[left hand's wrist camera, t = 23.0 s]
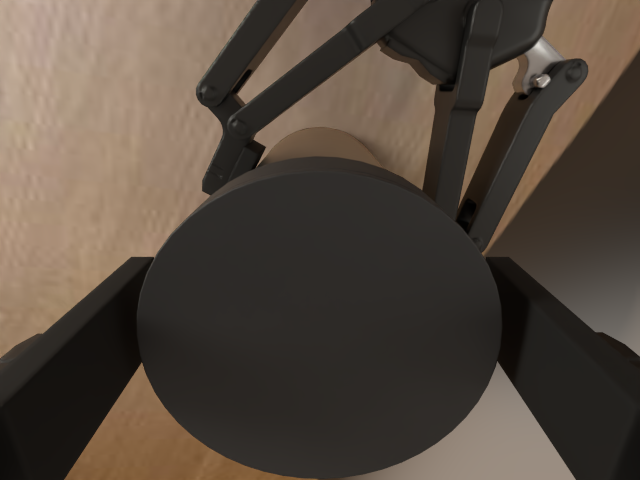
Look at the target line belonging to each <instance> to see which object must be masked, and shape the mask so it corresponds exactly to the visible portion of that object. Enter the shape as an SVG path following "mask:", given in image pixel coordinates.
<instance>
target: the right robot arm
mask: <svg viewBox="0 0 640 480" xmlns="http://www.w3.org/2000/svg"><path fill="white" fill-rule="evenodd" d="M307 1H308V0H257V1H256V3H255V4H254V6H253V7H252V8H251V10H250V11H249V13H248V14H247V16H246V17H245V18H244V20H243V21H242V23H241V24H240V25H239V27H238V28H237V30H236V31H235V32H234V34H233V35H232V37H231V38H230V40H229V41H228V42H227V44H226V45H225V47H224V48H223V49H222V51H221V52H220V54H219V55H218V56H217V58H216V59H215V61H214V62H213V64H212V65H211V66H210V68H209V69H208V71H207V72H206V73H205V75H204V76H203V78H202V79H201V80H200V82H199V83H198V85H197V88H196V96H197V98H198V100H199V102H200V103H201V104H202V105H204V106H206V107H208V108H209V109H210V110H211V111H212V112H213V114H214V115H215V116H216V117H217V118H218V119H219V121H220V122H221V124H222V127H223V136H222V139H221V141H220V143H219V145H218V147H217V150H216V152H215V154H214V156H213V158H212V161H211V163H210V165H209V167H208V170H207V172H206V174H205V176H204V178H203V180H202V191H203V192H205V193H207V194H209V195H212V194H213V193H215V192H216V191H218V190H219V189H220V188H222V187H223V186H224V185H226V184H227V183H228V182H230V181H232V180H234V179H235V178H237V177H239V176H241V175H243V174H245V173H246V172H248V171H251V170H254V169H255V168H256V166H257V164H258V162H259V160H260V158H261V156H262V154H263V152H264V150H265V148H266V147H265V146H263V145H262V144H260V143H258V142H256V141H255V140H253V139H254V137H255V135H256V133H257V132H258V131H260V130H261V129H262V128H264V127H265V126H266V125H268V124H269V123H270V122H272V121H273V120H274V119H275V118H277V117H278V116H279V115H281V114H282V113H283V112H285V111H286V110H287V109H289V108H290V107H291V106H293V105H294V104H295V103H297V102H298V101H299V100H301V99H302V98H303V97H305V96H306V95H307V94H309V93H310V92H311V91H313V90H314V89H315V88H317V87H318V86H319V85H321V84H322V83H323V82H325V81H326V80H327V79H329V78H330V77H331V76H333V75H334V74H335V73H337V72H338V71H339V70H340V69H342V68H343V67H344V66H346V65H347V64H348V63H350V62H351V61H352V60H354V59H355V58H357V57H358V56H359V55H361V54H362V53H363V52H365V51H366V50H367V49H369V48H370V47H371V46H373V45H374V44H375V43H378V45H379V46H380V47H381V50H380V51H381V52H383V53H384V54H386V55H388V56H389V57H391V58H392V59H395V60H398V61H402V62H405V63H408V64H410V65H411V66H412V68H413V69H414V70H415V71H416V72H417V73H418V75H419V76H420V77H422V78H423V79H425V80H426V81H428V82H430V83H431V84H437V85H436V92H435V98H434V105H435V115H434V122H433V128H432V134H431V140H430V147H429V153H428V159H427V165H426V172H425V178H424V184H423V190H422V191H423V192H424V193H425V194H426V195H427V196H429V197H430V198H431V199H432V200H433V201H434V202H435V203H437V204H438V205H439V206H440V207H441V208H442V209H443V210H444V211H445V212H446V213H447V214H448V215H449V216H450V217H451V218H452V219H453V220H454V221H455V222H457V223H458V224H459V225H460V226H461V227H462V228H463V230H464V231H465V232H466V233H467V234H468V236H469V237H470V238H471V239H472V240H473V242H474V243H475V244H476V245H477V247H478V249H479V250H480V252H481V253H482V252H483V251H484V250H485V249H486V247H487V245H488V244H489V242H490V240H491V238H492V236H493V234H494V232H495V230H496V228H497V226H498V224H499V222H500V220H501V218H502V216H503V214H504V212H505V210H506V208H507V206H508V204H509V202H510V200H511V198H512V196H513V194H514V192H515V190H516V188H517V186H518V184H519V182H520V180H521V178H522V176H523V174H524V172H525V170H526V168H527V166H528V164H529V162H530V160H531V158H532V156H533V154H534V152H535V150H536V148H537V146H538V144H539V142H540V140H541V138H542V136H543V134H544V132H545V130H546V128H547V126H548V124H549V122H550V120H551V118H552V116H553V114H554V113H555V112H556V111H557V110H558V109H559V108H560V107H561V106H562V105H563V103H564V102H565V101H566V100H567V99H568V98H569V97H570V96H571V95H572V94H573V93H574V92H575V91H576V89H577V88H578V87H579V86H580V85H581V84H582V83H583V82H584V80H585V79H586V77H587V74H588V65H587V64H586V62H585V61H584V60H582V59H568V60H567V59H565V58H564V57H563V56H562V55H561V54H560V53H559V52H558V51H557V50H556V49H555V48H554V47H553V46H552V45H551V44H550V43H549V42H548V41H547V40H546V39H545V38H544V37H543V36H542V35H543V33H544V30H545V26H546V20H547V16H548V12H549V9H550V6H551V4H552V2H553V0H371V6H370V7H369V8H368V9H366V10H365V11H364V12H362V13H361V14H360V15H359V16H357V17H356V18H355V19H354V20H352V21H351V22H350V23H349V24H348V25H347V26H346V27H345V28H344V29H342V30H341V31H340V32H339V33H337V34H336V35H335V36H333V37H332V38H331V39H330V40H328V41H327V42H326V43H324V44H323V45H322V46H321V47H319V48H318V49H317V50H315V51H314V52H313V53H312V54H310V55H309V56H308V57H306V58H305V59H304V60H303V61H301V62H300V63H299V64H297V65H296V66H295V67H294V68H292V69H291V70H290V71H288V72H287V73H286V74H285V75H283V76H282V77H281V78H279V79H278V80H277V81H276V82H274V83H273V84H272V85H270V86H269V87H268V88H267V89H265V90H264V91H263V92H261V93H260V94H259V95H258V96H256V97H255V98H254V99H253V100H251V101H250V102H249V103H247V104H245V103H244V102H243V101H242V100H241V99H240V97H239V96H238V95H237V94H238V93H239V91H240V90H241V89H242V87H243V86H244V85H245V83H246V82H247V81H248V79H249V78H250V77H251V75H252V74H253V73H254V71H255V70H256V69H257V67H258V66H259V65H260V63H261V62H262V61H263V59H264V58H265V57H266V55H267V54H268V53H269V51H270V50H271V49H272V47H273V46H274V45H275V43H276V42H277V41H278V39H279V38H280V37H281V35H282V34H283V33H284V31H285V30H286V29H287V27H288V26H289V25H290V23H291V22H292V21H293V19H294V18H295V17H296V15H297V14H298V13H299V11H300V10H301V9H302V7H303V6H304V5H305V3H306V2H307ZM514 58H517V59H518V62H519V69H518V72H517V74H516V76H515V78H514V80H513V88H514V91H515V93H514V94H513V95H512V97H511V98H510V100H509V101H508V103H507V104H506V106H505V108H504V110H503V112H502V114H501V116H500V118H499V120H498V122H497V125H496V127H495V129H494V131H493V133H492V136H491V138H490V140H489V142H488V144H487V147H486V149H485V151H484V153H483V155H482V157H481V160H480V162H479V164H478V166H477V168H476V171H475V173H474V175H473V177H472V179H471V182H470V184H469V186H468V188H467V190H466V193H465V195H464V197H463V199H462V201H461V204H460V206H459V208H458V205H459V200H460V195H461V190H462V185H463V180H464V175H465V170H466V165H467V159H468V154H469V149H470V144H471V139H472V134H473V129H474V124H475V119H476V115H477V112H478V111H479V110H480V108H481V106H482V104H483V101H484V96H485V91H486V86H487V81H488V76H489V71H490V70H491V69H493V68H495V67H497V66H499V65H502V64H504V63H506V62H508V61H510V60H512V59H514Z"/></svg>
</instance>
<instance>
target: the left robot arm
mask: <svg viewBox="0 0 640 480" xmlns="http://www.w3.org/2000/svg"><path fill="white" fill-rule="evenodd" d="M153 260H154V257H131V258H130V259H128V260H127V261H126V262H125V263H124V264H123V265H121V266H120V267H119V268H118V269H117V270H116V271H115V272H113V273H112V274H111V275H110V276H109V277H108V278H107V279H105V280H104V281H103V282H102V283H101V284H100V285H98V286H97V287H96V288H95V289H94V290H93V291H92V292H90V293H89V294H88V295H87V296H86V297H85V298H84V299H82V300H81V301H80V302H79V303H78V304H77V305H75V306H74V307H73V308H72V309H71V310H70V311H69V312H67V313H66V314H65V315H64V316H63V317H62V318H60V319H59V320H58V321H57V322H56V323H55V324H54V325H52V326H51V327H50V328H49V329H48V330H47V331H46V332H44V333H43V334H36V335H35V336H33V337H31V338H29V339H27V340H25V341H24V342H22V343H20V344H18V345H16V346H15V347H13V348H12V349H11V350H10V351H9V352H7V353H6V354H5V355H4V356H3V357H1V358H0V480H64V479H65V477H66V476H67V474H68V473H69V471H70V470H71V468H72V467H73V465H74V464H75V462H76V461H77V459H78V458H79V456H80V455H81V453H82V452H83V450H84V449H85V447H86V446H87V444H88V443H89V441H90V440H91V438H92V437H93V435H94V434H95V432H96V431H97V429H98V428H99V426H100V425H101V423H102V422H103V420H104V418H105V417H106V415H107V414H108V412H109V411H110V409H111V408H112V406H113V405H114V403H115V402H116V400H117V399H118V397H119V396H120V394H121V393H122V391H123V390H124V388H125V387H126V385H127V384H128V382H129V381H130V379H131V378H132V376H133V375H134V373H135V372H136V370H137V369H138V367H139V366H140V364H141V363H142V360H141V357H140V352H139V346H138V339H137V310H138V304H139V297H140V292H141V289H142V286H143V283H144V280H145V277H146V274H147V272H148V270H149V268H150V266H151V264H152V262H153ZM486 262H487V264H488V265H489V268H490V270H491V273H492V275H493V278H494V280H495V283H496V285H497V290H498V294H499V299H500V303H501V312H502V337H501V348H500V351H499V355H498V359H497V361H498V363H499V364H500V366H501V367H502V369H503V370H504V372H505V373H506V375H507V376H508V378H509V379H510V381H511V382H512V384H513V385H514V387H515V388H516V390H517V391H518V393H519V394H520V396H521V397H522V399H523V400H524V402H525V403H526V405H527V406H528V408H529V409H530V411H531V412H532V414H533V415H534V417H535V418H536V420H537V422H538V423H539V425H540V426H541V428H542V429H543V431H544V432H545V434H546V435H547V437H548V438H549V440H550V441H551V443H552V444H553V446H554V447H555V449H556V450H557V452H558V453H559V455H560V456H561V458H562V459H563V461H564V462H565V464H566V465H567V467H568V468H569V470H570V471H571V473H572V474H573V476H574V477H575V479H576V480H640V356H638V355H637V354H636V353H635V352H634V351H632V350H631V349H630V348H629V347H627V346H626V345H625V344H623V343H621V342H619V341H618V340H616V339H614V338H612V337H610V336H608V335H606V334H605V333H603V332H594V331H593V330H592V329H591V328H590V327H589V326H588V325H586V324H585V323H584V322H583V321H582V320H581V319H580V318H578V317H577V316H576V315H575V314H574V313H573V312H571V311H570V310H569V309H568V308H567V307H566V306H565V305H563V304H562V303H561V302H560V301H559V300H558V299H556V298H555V297H554V296H553V295H552V294H551V293H550V292H548V291H547V290H546V289H545V288H544V287H543V286H542V285H540V284H539V283H538V282H537V281H536V280H535V279H533V278H532V277H531V276H530V275H529V274H528V273H527V272H525V271H524V270H523V269H522V268H521V267H520V266H519V265H517V264H516V263H515V262H514V261H513V260H512V259H510V258H509V257H486Z"/></svg>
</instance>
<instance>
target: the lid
mask: <svg viewBox="0 0 640 480" xmlns="http://www.w3.org/2000/svg"><path fill="white" fill-rule="evenodd" d="M501 337H502V312H501V303H500V299H499V294H498V290H497V285H496V283H495V280H494V278H493V275H492V273H491V270H490V268H489V265H488V264H487V262H486V260H485V259H484V257H483V255H482V254H481V252H480V250H479V249H478V247H477V245H476V244H475V243H474V242H473V240H472V239H471V238H470V237H469V236H468V234H467V233H466V232H465V231H464V230H463V228H462V227H461V226H460V225H459V224H458V223H457V222H455V221H454V220H453V219H452V218H451V217H450V216H449V215H448V214H447V213H446V212H445V211H444V210H443V209H442V208H441V207H440V206H439V205H438V204H437V203H435V202H434V201H433V200H432V199H431V198H430V197H429V196H427V195H426V194H425V193H424V192H423V191H422V190H421V189H419V188H418V187H416V186H415V185H413V184H412V183H410V182H409V181H407V180H406V179H404V178H402V177H400V176H398V175H396V174H394V173H392V172H390V171H388V170H386V169H384V168H381V167H378V166H375V165H371V164H368V163H365V162H362V161H357V160H351V159H346V158H340V157H321V156H312V157H301V158H291V159H287V160H283V161H278V162H274V163H270V164H267V165H264V166H262V167H259V168H256V169H254V170H251V171H248V172H246V173H245V174H243V175H241V176H239V177H237V178H235V179H234V180H232V181H230V182H228V183H227V184H226V185H224V186H223V187H222V188H220V189H219V190H218V191H216V192H215V193H213V194H212V195H211V196H210V197H209V198H208V199H207V200H206V201H205V202H204V203H202V204H201V205H200V206H199V207H198V208H197V209H196V210H195V211H194V212H193V213H192V214H191V215H190V216H189V217H188V218H187V219H186V220H185V221H184V222H183V223H182V224H181V225H180V226H179V227H178V228H177V229H176V230H175V231H174V232H173V233H172V234H171V235H170V236H169V238H168V239H167V240H166V242H165V243H164V244H163V246H162V247H161V248H160V250H159V251H158V253H157V254H156V256H155V258H154V260H153V262H152V264H151V266H150V268H149V270H148V272H147V274H146V277H145V280H144V283H143V286H142V289H141V292H140V297H139V304H138V310H137V339H138V346H139V352H140V357H141V360H142V363H143V366H144V369H145V373H146V375H147V377H148V379H149V381H150V383H151V385H152V387H153V390H154V392H155V393H156V395H157V396H158V398H159V399H160V401H161V402H162V404H163V405H164V407H165V408H166V409H167V410H168V412H169V413H170V414H171V415H172V416H173V417H174V418H175V420H176V421H177V422H178V423H179V424H180V425H181V426H182V427H183V428H185V429H186V430H187V431H188V432H189V433H190V434H191V435H192V436H193V437H195V438H196V439H198V440H199V441H200V442H202V443H203V444H205V445H206V446H207V447H209V448H211V449H212V450H214V451H216V452H218V453H219V454H221V455H223V456H225V457H227V458H229V459H231V460H233V461H236V462H238V463H240V464H243V465H245V466H248V467H251V468H254V469H257V470H261V471H264V472H268V473H273V474H277V475H282V476H289V477H297V478H313V479H328V478H343V477H350V476H356V475H362V474H367V473H371V472H374V471H378V470H382V469H385V468H388V467H391V466H393V465H396V464H399V463H402V462H403V461H406V460H408V459H410V458H412V457H414V456H416V455H418V454H420V453H422V452H423V451H425V450H427V449H428V448H430V447H431V446H433V445H435V444H436V443H438V442H439V441H440V440H441V439H442V438H444V437H445V436H446V435H448V434H449V433H450V432H452V431H453V430H454V429H455V428H456V427H457V426H458V425H459V424H460V423H461V422H462V421H463V420H464V419H465V418H466V417H467V415H468V414H469V413H470V411H471V410H472V409H473V408H474V406H475V405H476V404H477V403H478V401H479V399H480V398H481V396H482V394H483V393H484V391H485V389H486V388H487V386H488V384H489V381H490V379H491V377H492V374H493V372H494V369H495V367H496V363H497V359H498V355H499V351H500V348H501Z"/></svg>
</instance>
